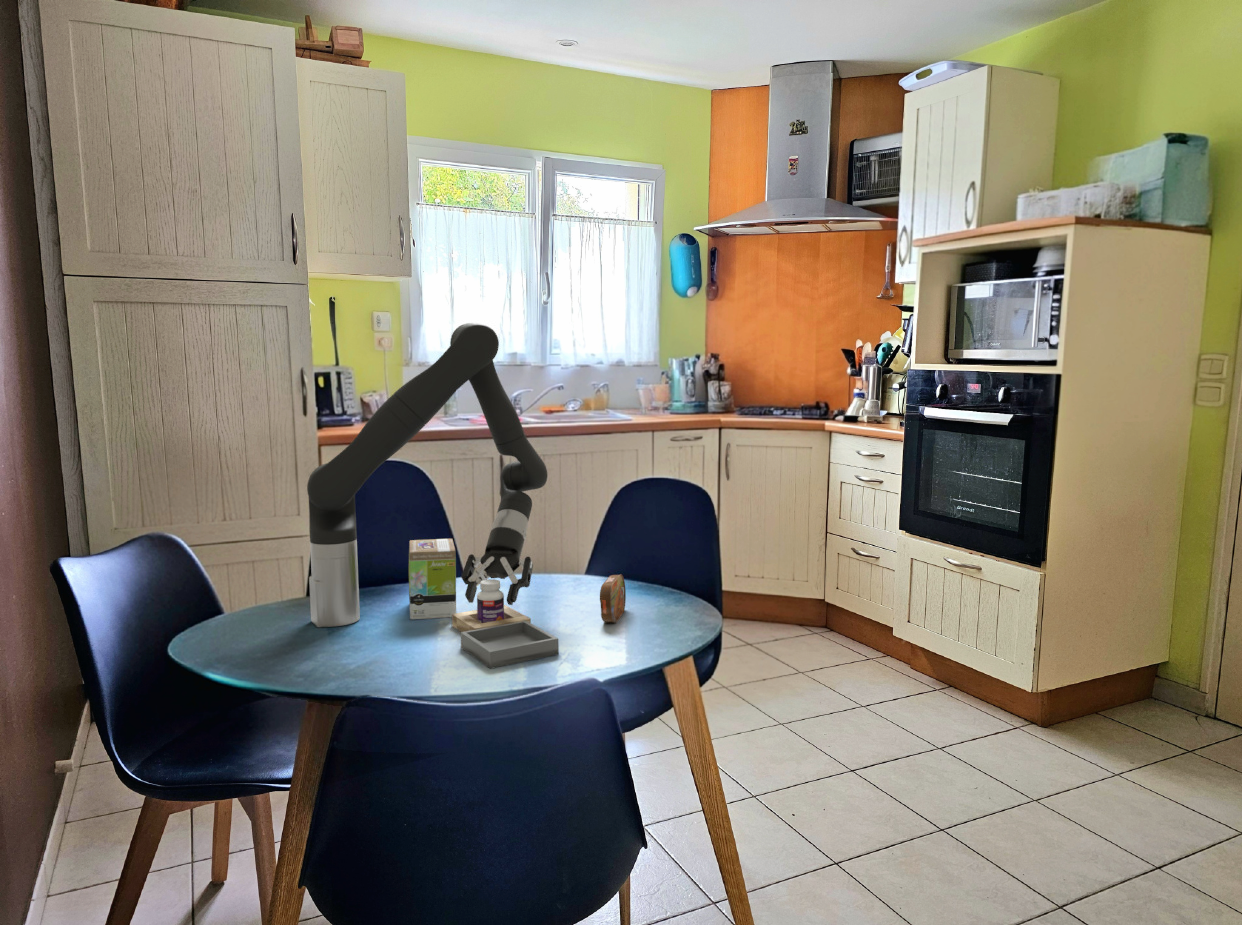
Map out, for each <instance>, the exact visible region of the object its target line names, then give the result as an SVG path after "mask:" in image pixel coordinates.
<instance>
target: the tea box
mask: <svg viewBox="0 0 1242 925" xmlns="http://www.w3.org/2000/svg"><path fill="white" fill-rule="evenodd" d="M456 553H457V552H456V547H455V544H454V540H453V538H435V539H433V538H432V539H431V538H429V539H414V540H413V539H412V540H411V539H410V540H409V543H408V597H409V600H408V602H409V618H410V620H431V619H443V618H452V614H455V613H457V557H456Z"/></svg>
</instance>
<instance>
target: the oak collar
mask: <svg viewBox="0 0 1242 925" xmlns="http://www.w3.org/2000/svg"><path fill="white" fill-rule="evenodd" d="M521 621H527V622H529V623H531V622H532V621H531V618H530V617H529V616H527V615H526V614H523V613H521V612H520V611H517V610H516V609H514V608H511V607H510V606H507V605H506V604H504V619H503V620H498V621H492V622H486V623H480V622H479V621H477V609H474V610H468V611H462V612H456V613H455V614H452V617H451V623H452V624H451V626H452V627H453V628H454V629H456V630H457V631H459V632H460V633H461V632H465V631H471V630H476V629H482V628H487V627H493V626H498V625H504V624H509V623H515V622H521ZM531 624H532V623H531Z"/></svg>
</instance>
